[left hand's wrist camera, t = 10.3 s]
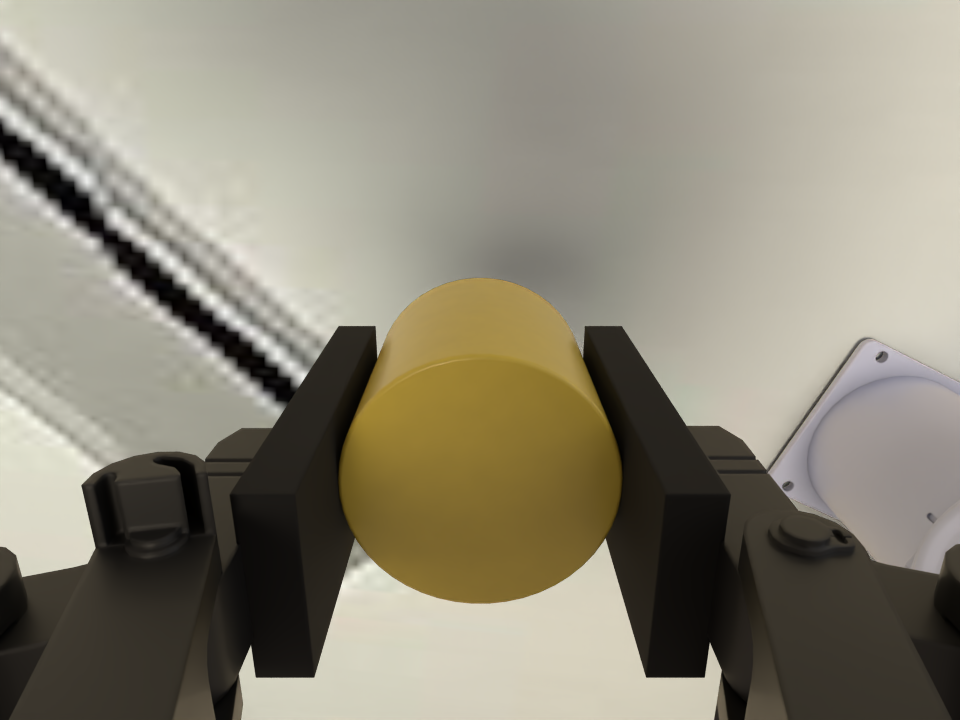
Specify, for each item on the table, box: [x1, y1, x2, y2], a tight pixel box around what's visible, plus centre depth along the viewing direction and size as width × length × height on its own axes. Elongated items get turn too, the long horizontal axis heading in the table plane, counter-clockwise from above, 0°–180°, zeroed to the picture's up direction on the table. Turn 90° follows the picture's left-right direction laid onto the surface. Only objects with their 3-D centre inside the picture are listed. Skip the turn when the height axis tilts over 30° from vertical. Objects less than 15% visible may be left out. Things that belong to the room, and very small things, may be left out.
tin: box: [338, 278, 623, 603], centre depth 12 cm, size 4×4×5 cm
